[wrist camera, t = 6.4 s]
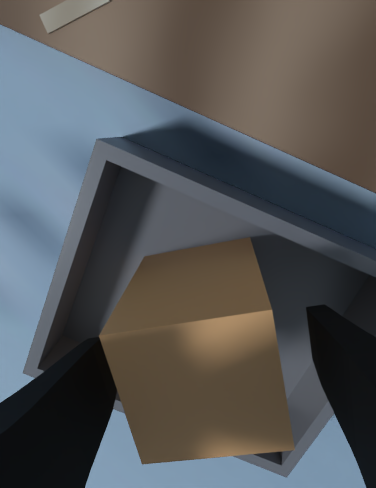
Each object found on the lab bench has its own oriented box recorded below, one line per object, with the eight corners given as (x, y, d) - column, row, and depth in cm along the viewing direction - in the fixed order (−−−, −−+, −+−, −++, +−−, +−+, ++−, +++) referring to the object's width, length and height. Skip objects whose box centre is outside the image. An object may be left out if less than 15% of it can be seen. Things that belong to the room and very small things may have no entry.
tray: (387, 254, 14) (429, 284, 12) (275, 421, 18) (286, 477, 15) (121, 136, 14) (96, 138, 11) (55, 332, 17) (22, 373, 14)
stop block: (250, 237, 14) (272, 309, 8) (266, 331, 15) (295, 450, 10) (144, 256, 15) (99, 335, 9) (168, 345, 16) (142, 464, 10)
